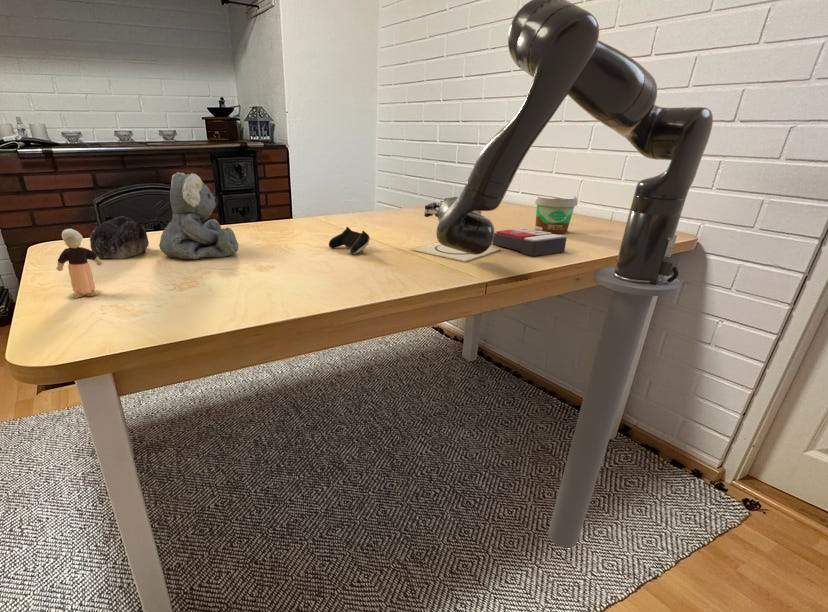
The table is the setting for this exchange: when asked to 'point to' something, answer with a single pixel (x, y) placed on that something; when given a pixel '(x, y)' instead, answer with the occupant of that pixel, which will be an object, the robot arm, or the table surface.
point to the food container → (554, 214)
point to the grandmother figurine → (78, 264)
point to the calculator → (530, 241)
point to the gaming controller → (351, 240)
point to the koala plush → (194, 222)
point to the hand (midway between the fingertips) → (449, 205)
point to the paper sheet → (451, 252)
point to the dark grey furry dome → (118, 238)
